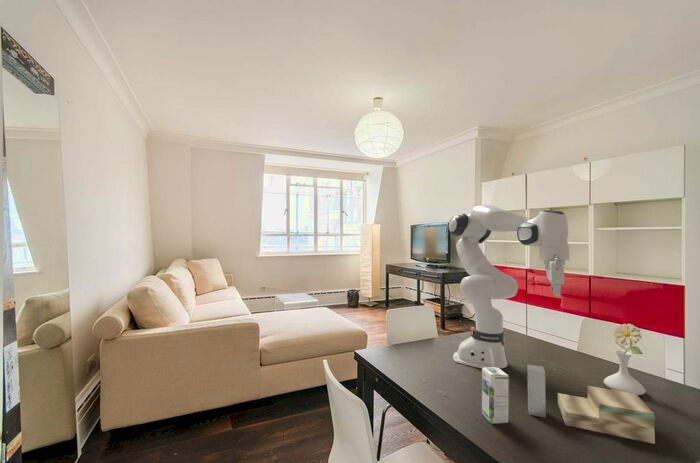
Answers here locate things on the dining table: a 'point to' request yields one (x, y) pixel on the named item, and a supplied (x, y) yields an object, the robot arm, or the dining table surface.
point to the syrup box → (495, 395)
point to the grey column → (536, 391)
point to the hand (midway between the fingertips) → (555, 294)
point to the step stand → (609, 413)
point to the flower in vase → (625, 361)
